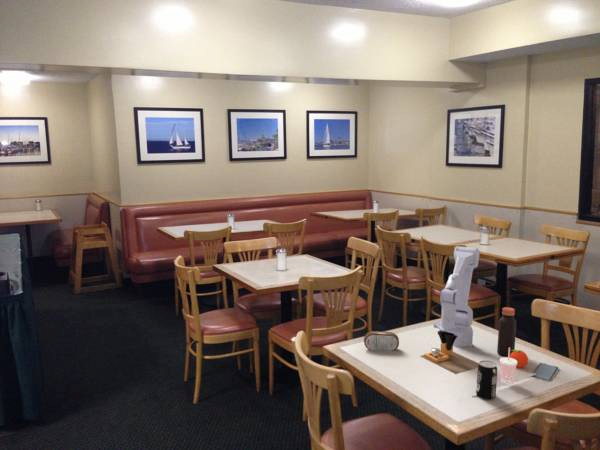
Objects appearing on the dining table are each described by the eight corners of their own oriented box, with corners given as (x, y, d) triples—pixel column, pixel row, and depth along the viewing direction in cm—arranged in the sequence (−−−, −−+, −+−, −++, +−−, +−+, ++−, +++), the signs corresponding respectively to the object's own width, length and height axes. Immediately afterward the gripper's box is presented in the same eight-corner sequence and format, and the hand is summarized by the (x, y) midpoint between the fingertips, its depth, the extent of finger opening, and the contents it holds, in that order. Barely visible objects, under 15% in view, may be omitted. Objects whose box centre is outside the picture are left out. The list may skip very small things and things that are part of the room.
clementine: (503, 366, 210) (504, 349, 209) (510, 361, 215) (511, 345, 214) (523, 372, 205) (525, 355, 204) (530, 367, 210) (531, 350, 209)
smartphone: (529, 375, 201) (539, 362, 213) (529, 378, 201) (539, 364, 213) (550, 381, 197) (559, 367, 208) (550, 383, 197) (559, 369, 209)
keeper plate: (447, 350, 226) (447, 348, 226) (484, 367, 209) (484, 365, 209) (419, 357, 218) (419, 356, 218) (455, 375, 201) (455, 373, 201)
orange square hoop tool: (444, 350, 223) (445, 339, 223) (457, 356, 217) (457, 344, 217) (424, 356, 218) (424, 345, 217) (436, 362, 212) (436, 351, 211)
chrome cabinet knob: (435, 356, 218) (435, 347, 218) (441, 359, 215) (441, 350, 215) (429, 357, 217) (429, 348, 216) (435, 360, 214) (435, 351, 213)
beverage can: (473, 391, 188) (474, 360, 187) (490, 391, 189) (492, 359, 187) (480, 400, 182) (482, 367, 180) (499, 400, 182) (501, 367, 181)
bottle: (496, 355, 221) (499, 310, 218) (497, 350, 227) (500, 305, 224) (514, 358, 219) (517, 312, 216) (514, 352, 225) (517, 307, 222)
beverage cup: (514, 388, 191) (516, 352, 189) (496, 384, 194) (498, 348, 192) (517, 382, 196) (519, 346, 194) (500, 378, 200) (502, 343, 197)
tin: (398, 350, 227) (399, 331, 226) (399, 353, 224) (399, 334, 222) (363, 348, 228) (364, 330, 227) (363, 351, 225) (364, 332, 224)
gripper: (428, 314, 221) (427, 344, 223) (454, 324, 209) (453, 356, 211) (441, 311, 225) (439, 341, 227) (467, 321, 212) (465, 353, 214)
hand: (446, 348), depth 219 cm, fingers closed on orange square hoop tool, 2 cm apart
